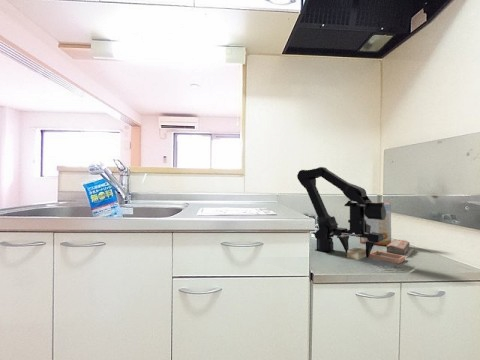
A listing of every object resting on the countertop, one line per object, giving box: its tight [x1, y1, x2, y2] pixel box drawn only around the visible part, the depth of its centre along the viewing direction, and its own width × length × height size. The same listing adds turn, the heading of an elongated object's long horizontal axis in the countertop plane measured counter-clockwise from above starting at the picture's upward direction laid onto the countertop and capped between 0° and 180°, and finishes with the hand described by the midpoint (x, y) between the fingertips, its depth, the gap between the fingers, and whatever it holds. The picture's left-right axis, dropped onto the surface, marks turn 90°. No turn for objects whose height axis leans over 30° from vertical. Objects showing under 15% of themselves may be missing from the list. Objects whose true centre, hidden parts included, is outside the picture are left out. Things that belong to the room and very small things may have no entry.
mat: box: [344, 255, 398, 269], centre depth 108 cm, size 18×15×1 cm
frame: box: [369, 250, 406, 265], centre depth 107 cm, size 11×8×2 cm
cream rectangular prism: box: [346, 246, 366, 261], centre depth 110 cm, size 4×8×3 cm, turn 131°
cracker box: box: [359, 201, 392, 247], centre depth 135 cm, size 14×6×21 cm, turn 58°
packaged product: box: [381, 239, 415, 259], centre depth 118 cm, size 18×5×10 cm
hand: (357, 255), depth 110 cm, fingers open, 8 cm apart
